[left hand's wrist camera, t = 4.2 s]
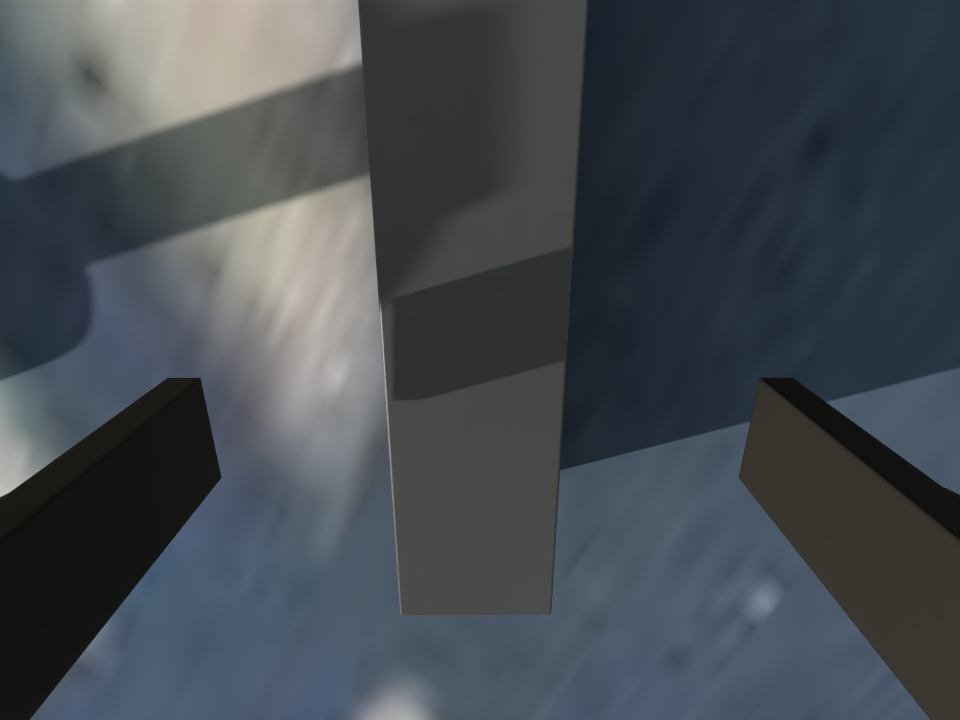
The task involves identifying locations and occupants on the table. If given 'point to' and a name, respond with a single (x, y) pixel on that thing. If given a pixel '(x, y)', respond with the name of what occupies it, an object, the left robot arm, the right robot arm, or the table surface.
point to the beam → (474, 286)
